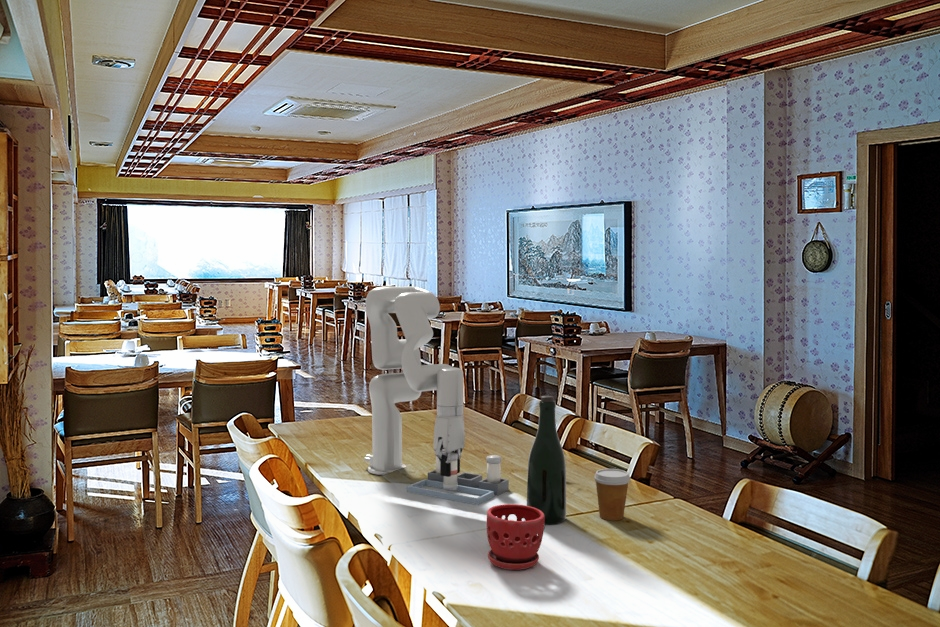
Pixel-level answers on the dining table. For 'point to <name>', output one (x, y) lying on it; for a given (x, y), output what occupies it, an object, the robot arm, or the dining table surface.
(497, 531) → the plant pot
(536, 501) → the green wine bottle
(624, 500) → the disposable coffee cup
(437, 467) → the ball
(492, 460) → the fuse
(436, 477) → the fuse holder
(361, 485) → the dining table surface
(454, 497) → the parts tray
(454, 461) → the cylinder
